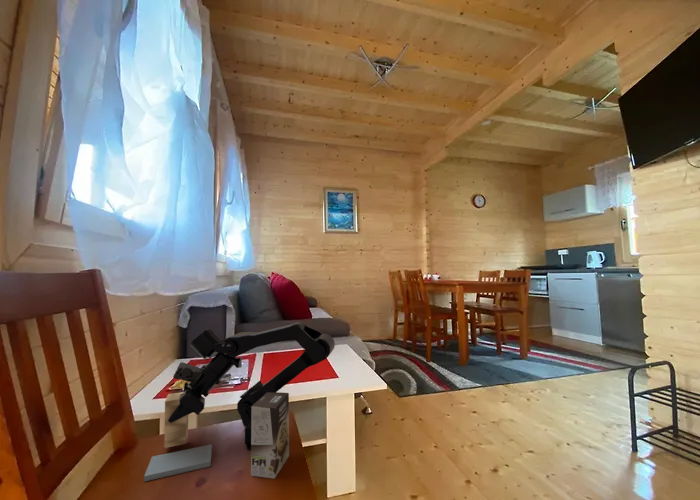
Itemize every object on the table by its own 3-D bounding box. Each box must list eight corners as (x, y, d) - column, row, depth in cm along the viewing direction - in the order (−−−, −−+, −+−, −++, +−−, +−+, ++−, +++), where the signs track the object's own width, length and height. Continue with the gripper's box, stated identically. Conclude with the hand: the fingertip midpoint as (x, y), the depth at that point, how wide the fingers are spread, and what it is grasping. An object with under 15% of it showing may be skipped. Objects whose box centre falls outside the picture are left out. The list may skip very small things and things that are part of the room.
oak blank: (188, 434, 88) (188, 391, 88) (185, 443, 83) (186, 398, 84) (167, 438, 86) (168, 394, 87) (164, 448, 81) (164, 401, 82)
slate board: (212, 448, 84) (212, 444, 84) (210, 466, 77) (210, 461, 77) (151, 461, 79) (152, 456, 79) (144, 481, 72) (144, 476, 72)
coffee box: (275, 479, 72) (275, 407, 72) (250, 476, 73) (249, 406, 74) (290, 455, 81) (289, 392, 81) (267, 453, 82) (266, 390, 83)
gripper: (196, 344, 96) (154, 386, 91) (189, 361, 79) (137, 414, 74) (223, 367, 98) (184, 409, 94) (223, 388, 81) (174, 441, 76)
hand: (171, 417), depth 84 cm, fingers closed on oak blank, 5 cm apart
